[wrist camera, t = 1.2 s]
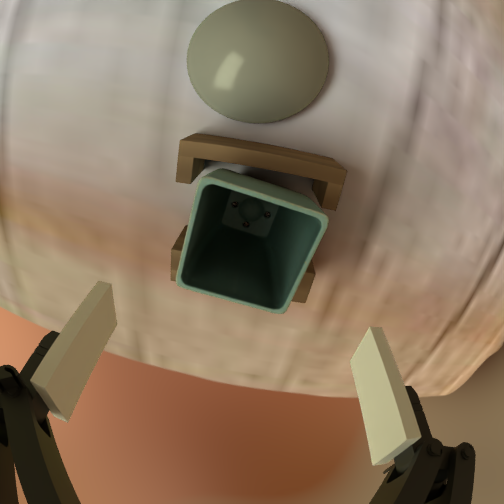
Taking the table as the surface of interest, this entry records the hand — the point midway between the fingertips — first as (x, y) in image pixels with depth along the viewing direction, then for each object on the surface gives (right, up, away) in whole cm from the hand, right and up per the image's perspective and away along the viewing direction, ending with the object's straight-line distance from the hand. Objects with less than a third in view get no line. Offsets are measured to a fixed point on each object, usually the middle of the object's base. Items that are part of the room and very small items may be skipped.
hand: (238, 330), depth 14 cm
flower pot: (+1, +8, +14) cm, 16 cm away
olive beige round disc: (+1, +20, +7) cm, 21 cm away
